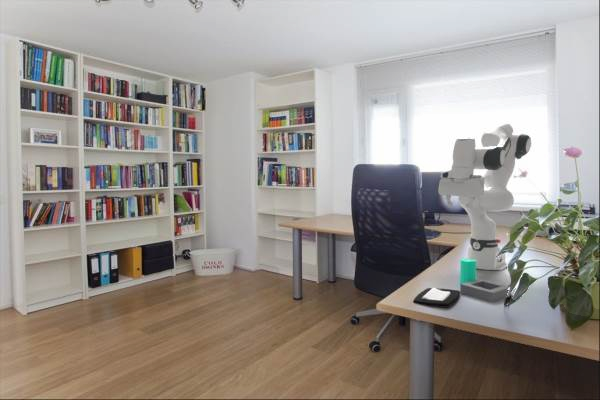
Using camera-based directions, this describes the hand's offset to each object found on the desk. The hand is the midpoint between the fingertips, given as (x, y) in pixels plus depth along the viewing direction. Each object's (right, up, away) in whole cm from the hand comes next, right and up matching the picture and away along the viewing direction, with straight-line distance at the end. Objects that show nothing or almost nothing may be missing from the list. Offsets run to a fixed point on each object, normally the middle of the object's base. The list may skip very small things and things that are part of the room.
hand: (458, 206), depth 164 cm
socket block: (+3, -34, -17) cm, 38 cm away
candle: (+2, -33, -4) cm, 33 cm away
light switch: (-17, -35, -21) cm, 44 cm away
